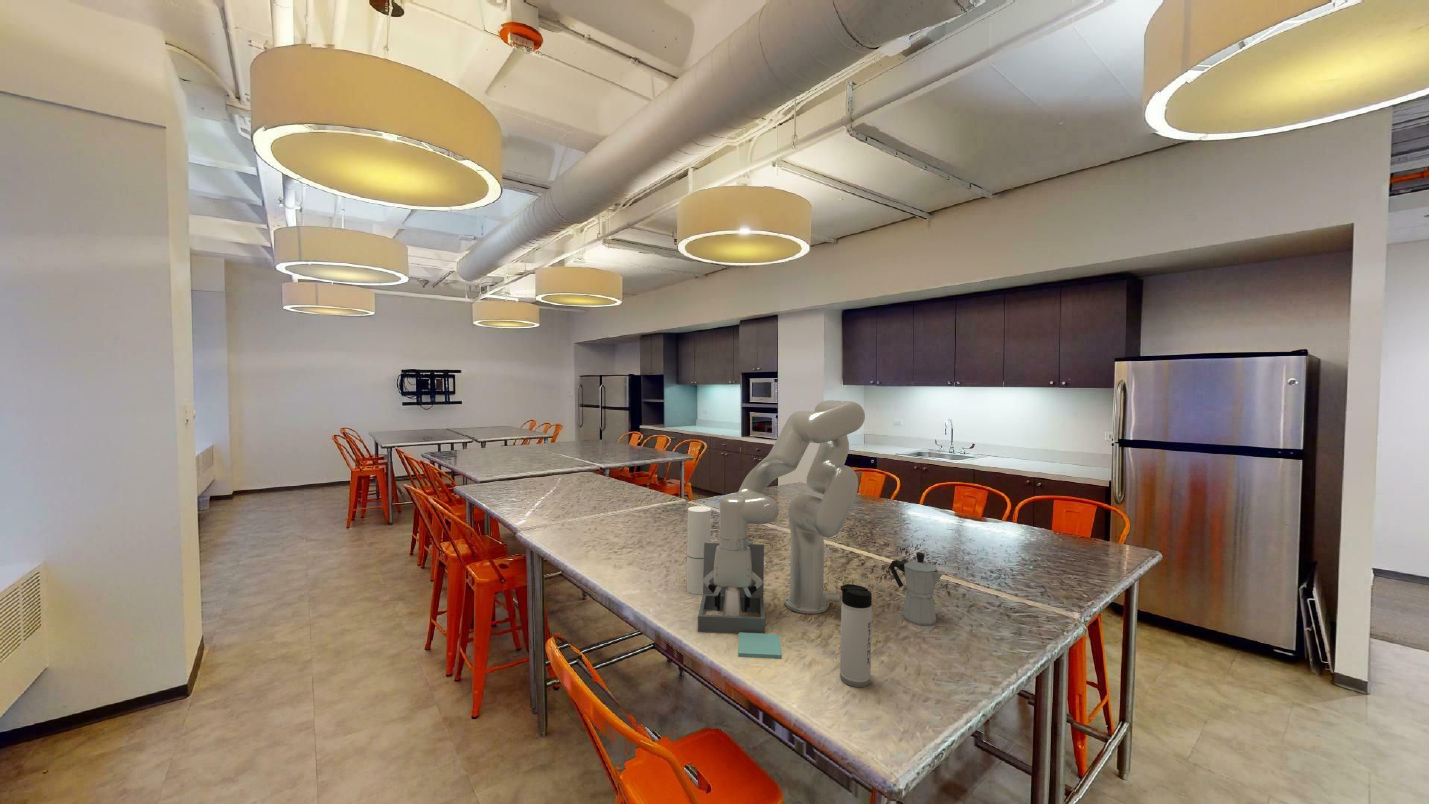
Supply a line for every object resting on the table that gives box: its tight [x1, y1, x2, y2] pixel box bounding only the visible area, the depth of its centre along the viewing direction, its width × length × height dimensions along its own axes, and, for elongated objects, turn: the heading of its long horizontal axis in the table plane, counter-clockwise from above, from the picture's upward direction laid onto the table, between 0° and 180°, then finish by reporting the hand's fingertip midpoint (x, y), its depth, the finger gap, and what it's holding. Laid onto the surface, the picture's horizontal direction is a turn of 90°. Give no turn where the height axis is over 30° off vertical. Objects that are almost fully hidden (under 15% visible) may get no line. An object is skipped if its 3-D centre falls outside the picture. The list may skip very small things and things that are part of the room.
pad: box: [737, 632, 783, 660], centre depth 122 cm, size 10×10×1 cm
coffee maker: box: [888, 551, 945, 626], centre depth 139 cm, size 15×9×18 cm, turn 47°
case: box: [697, 594, 766, 635], centre depth 135 cm, size 17×14×4 cm
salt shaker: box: [722, 587, 743, 616], centre depth 135 cm, size 5×5×11 cm
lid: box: [702, 542, 765, 597], centre depth 144 cm, size 17×14×1 cm
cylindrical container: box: [686, 505, 712, 595], centre depth 156 cm, size 7×7×25 cm
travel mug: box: [839, 583, 873, 688], centre depth 108 cm, size 6×7×20 cm
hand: (732, 608), depth 135 cm, fingers open, 6 cm apart
